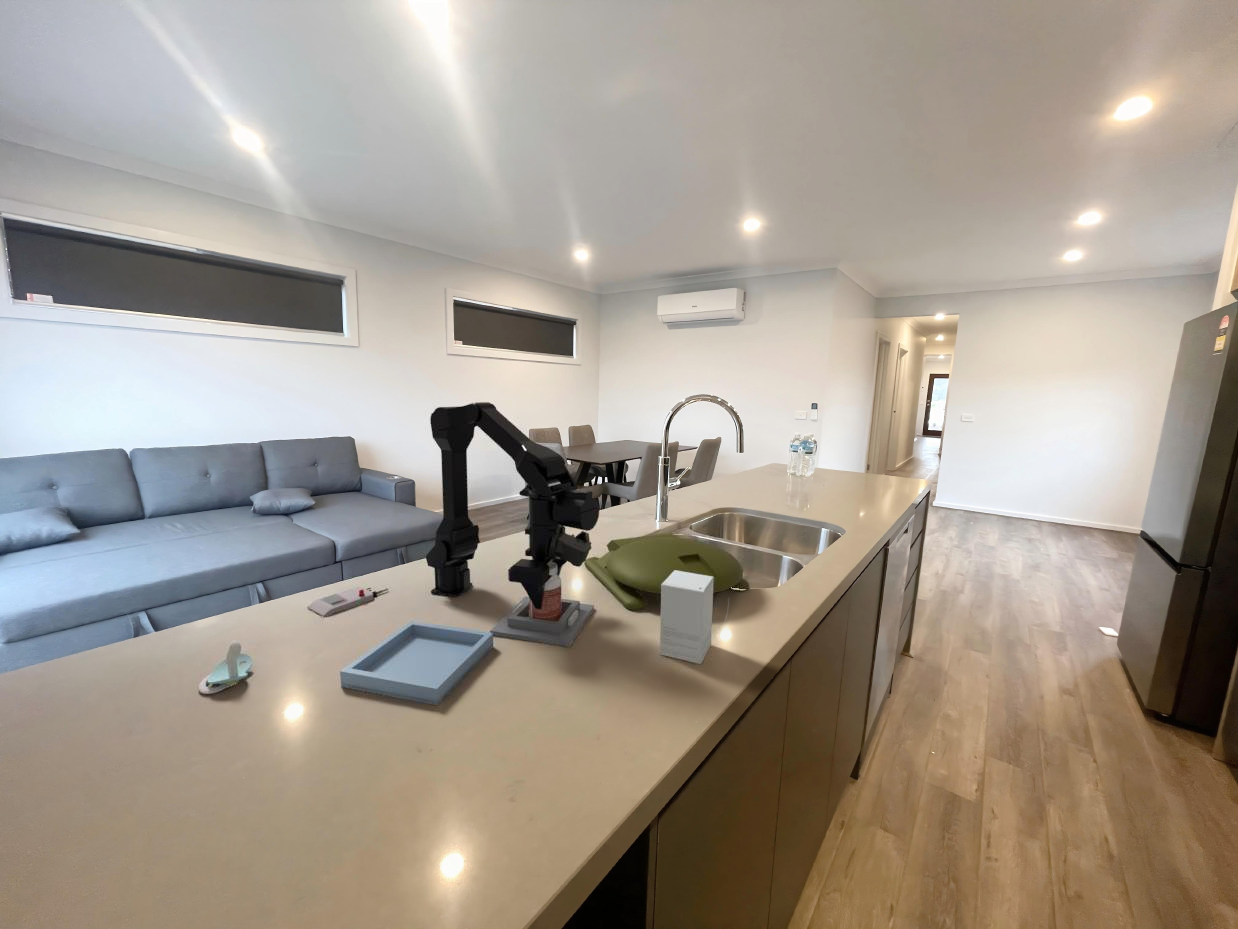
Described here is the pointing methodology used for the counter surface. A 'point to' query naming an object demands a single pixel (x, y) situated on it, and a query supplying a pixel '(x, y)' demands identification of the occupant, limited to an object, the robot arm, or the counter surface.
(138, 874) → the counter surface
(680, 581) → the supplement box
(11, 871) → the counter surface
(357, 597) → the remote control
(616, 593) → the spaceship
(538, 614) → the pill bottle
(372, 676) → the tray
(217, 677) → the pacifier
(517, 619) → the grey square frame
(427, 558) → the robot arm
